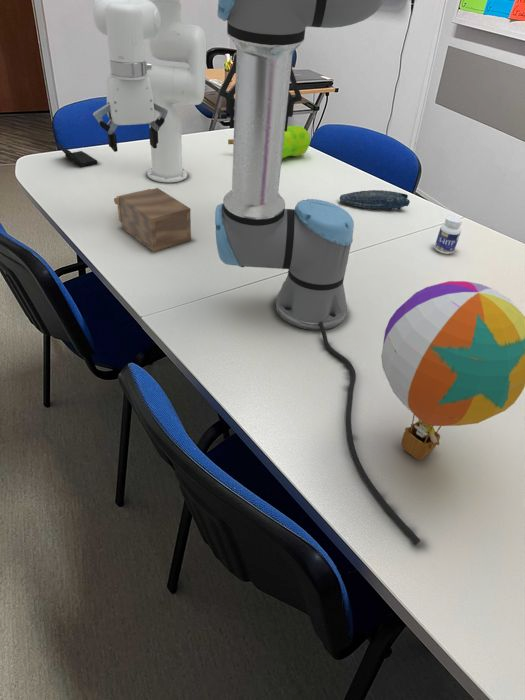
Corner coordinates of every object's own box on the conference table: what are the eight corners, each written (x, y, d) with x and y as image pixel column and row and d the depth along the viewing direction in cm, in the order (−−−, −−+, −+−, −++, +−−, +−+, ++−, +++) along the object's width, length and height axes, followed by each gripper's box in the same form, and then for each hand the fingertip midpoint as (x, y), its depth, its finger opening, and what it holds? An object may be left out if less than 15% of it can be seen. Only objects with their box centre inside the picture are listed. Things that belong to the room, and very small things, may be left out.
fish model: (408, 214, 157) (412, 198, 153) (339, 207, 158) (341, 191, 154) (406, 206, 162) (410, 190, 159) (339, 199, 163) (341, 183, 160)
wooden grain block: (122, 228, 136) (119, 196, 131) (159, 219, 142) (157, 187, 137) (153, 252, 128) (150, 218, 122) (190, 240, 134) (190, 208, 128)
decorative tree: (225, 119, 187) (305, 119, 192) (225, 149, 194) (302, 148, 199) (232, 134, 173) (318, 133, 179) (232, 165, 180) (315, 164, 185)
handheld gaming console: (102, 156, 171) (80, 134, 163) (90, 174, 170) (68, 153, 161) (81, 152, 177) (60, 131, 169) (70, 169, 176) (48, 148, 168)
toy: (330, 441, 84) (367, 281, 65) (404, 391, 94) (454, 241, 75) (431, 526, 73) (512, 363, 54) (502, 459, 83) (589, 303, 64)
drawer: (109, 213, 140) (106, 189, 136) (141, 205, 146) (140, 182, 142) (146, 241, 130) (144, 215, 125) (179, 231, 135) (179, 207, 131)
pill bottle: (433, 251, 139) (442, 220, 133) (435, 243, 143) (444, 213, 137) (453, 256, 138) (464, 225, 132) (454, 247, 142) (465, 217, 136)
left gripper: (159, 65, 121) (163, 140, 131) (84, 66, 114) (94, 146, 124) (171, 72, 116) (173, 150, 126) (92, 73, 109) (102, 156, 119)
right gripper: (316, 33, 123) (304, 126, 136) (210, 24, 121) (209, 121, 134) (320, 38, 117) (308, 135, 130) (209, 29, 115) (208, 129, 128)
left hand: (134, 148), depth 125 cm, fingers open, 9 cm apart
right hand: (258, 128), depth 132 cm, fingers open, 13 cm apart
